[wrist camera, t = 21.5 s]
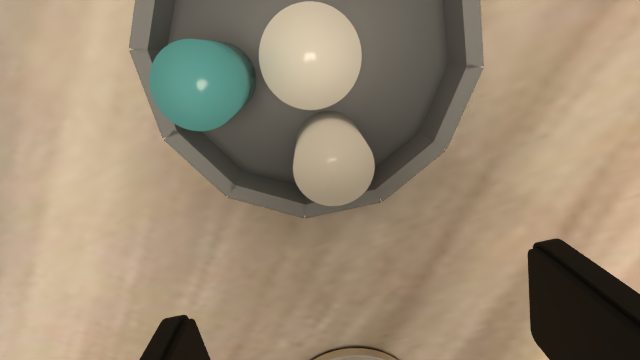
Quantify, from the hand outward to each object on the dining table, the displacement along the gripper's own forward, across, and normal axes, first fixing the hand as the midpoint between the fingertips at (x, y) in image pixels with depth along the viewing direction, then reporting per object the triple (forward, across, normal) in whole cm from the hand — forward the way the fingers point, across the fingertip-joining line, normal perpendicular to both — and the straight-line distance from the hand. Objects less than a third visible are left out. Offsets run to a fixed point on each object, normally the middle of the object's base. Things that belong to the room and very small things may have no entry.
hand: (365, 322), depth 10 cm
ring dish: (+18, 0, -7) cm, 19 cm away
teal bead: (+17, +6, -7) cm, 19 cm away
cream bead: (+17, 0, -1) cm, 17 cm away
